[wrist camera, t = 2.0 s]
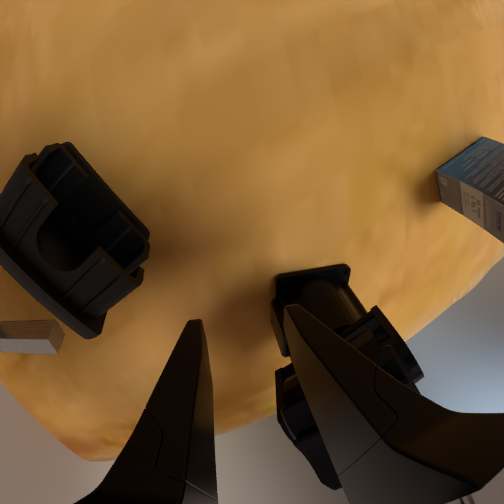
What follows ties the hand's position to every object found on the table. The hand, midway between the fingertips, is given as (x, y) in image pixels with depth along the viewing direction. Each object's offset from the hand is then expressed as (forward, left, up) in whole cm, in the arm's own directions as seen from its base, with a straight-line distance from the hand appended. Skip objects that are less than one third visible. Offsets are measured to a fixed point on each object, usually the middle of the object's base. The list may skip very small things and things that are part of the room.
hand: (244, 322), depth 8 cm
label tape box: (-23, -2, -11) cm, 26 cm away
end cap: (+10, 0, -11) cm, 15 cm away
